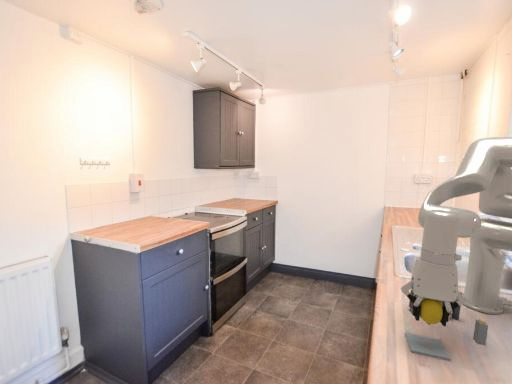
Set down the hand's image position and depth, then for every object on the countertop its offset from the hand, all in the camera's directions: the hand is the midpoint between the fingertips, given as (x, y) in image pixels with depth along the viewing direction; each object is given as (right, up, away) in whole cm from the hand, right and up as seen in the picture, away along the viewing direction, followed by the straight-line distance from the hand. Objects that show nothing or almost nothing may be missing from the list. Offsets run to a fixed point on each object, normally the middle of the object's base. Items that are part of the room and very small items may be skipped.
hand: (429, 320), depth 74 cm
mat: (0, -8, +1) cm, 8 cm away
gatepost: (+18, -7, +15) cm, 25 cm away
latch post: (+17, -8, +4) cm, 19 cm away
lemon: (0, -2, 0) cm, 1 cm away
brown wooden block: (+11, -5, +17) cm, 21 cm away
